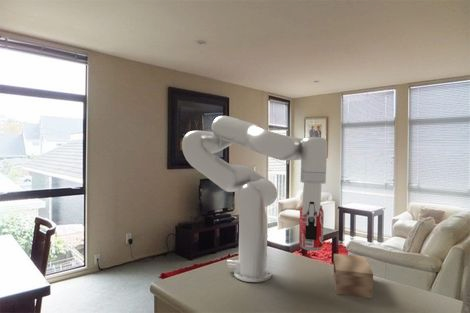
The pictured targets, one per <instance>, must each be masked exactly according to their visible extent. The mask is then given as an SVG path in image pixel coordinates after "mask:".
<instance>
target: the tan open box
mask: <svg viewBox="0 0 470 313" xmlns="http://www.w3.org/2000/svg"><path fill="white" fill-rule="evenodd" d="M332 275H333V281H334V286H335V287H334V289H335V290H334V291H335V294H336V295H342V296H351V297H359V298H367V299H374V298H373V296H374V273H373V271H372V269H371V267H370V264H369V262H368V260H367V258H366V256H363V255H351V254H341V253H340V254H339V253H333V274H332Z"/></svg>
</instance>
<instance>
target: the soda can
mask: <svg viewBox="0 0 470 313" xmlns="http://www.w3.org/2000/svg"><path fill="white" fill-rule="evenodd" d="M302 206H303V204H301V208H300V210H299V236H298V245H299V246H300V248H301V249H303V250H306V251H310V252H311V251H312V252H313V251H314V252H317V251H320V250H321V249H322V248H323V247H324V222H325V221H324V216H325V214H324V209H323V205H321V204H320V211H319V216H318V217H317V218H316V226H317V239H316V240H310V239H306V238H305V231H306V225H307V214H306V215H304V216H303V215H302ZM316 214H317V213H316ZM308 215H309V210H308ZM314 215H315V213H314ZM316 216H317V215H316ZM314 219H315V218H314Z"/></svg>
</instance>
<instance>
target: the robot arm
mask: <svg viewBox="0 0 470 313" xmlns="http://www.w3.org/2000/svg"><path fill="white" fill-rule="evenodd" d="M233 144H235V145H238V146H241V147H244V148H246V149H249V150H250V151H253V152H255V153H258V154H260V155H263V156H267V157H268V158H269V157H270V158H272V159H274V160H275V159H276V160H279V161H298V160H299V161H300V183H303V189H302V205H303V206H302V205H301V207H302V215H303V216H304V215H306V214H307V225H306V231H305V238H306V239H310V240H316V239H317V226H316V218H317V217H318V216H319V211H320V205H321V202H322V201H321V200H322V185H323V184H325V185H326V183H327V155H328V141H327V139H326V138H324V137H320V136H317V137H316V136H315V137H314V136H310V137H308V136H307V137H305V138H303V137H302V138H301V137H296V136H295V137H294V136H290V135H284V134H281V133H277V132H274V131H271V130H267V129H264V128H261V127H260V126H259V125H258V124H256V123H252V122H249V121H245V120H242V119H240V118H236V117H232V116H228V115H220V116H217V117H215V119H214V120H213V121H212V123H211V131H207V130H191V131H188V132H186V134H185V135H184V136H183V138H182V141H181V148H182V149H181V150H182V153H183V155H184V157H185V160H186V161H187V162H188V164H189V165H190V166H191V167H192V168H194V169H195V170H197V171H198V172H199V173H200V174H203V176H205V177H206V178H207V179H209V180H210V181H211V182H213V183H214V184H215V185H217V186H218V187H219V188H221V189H222V190H223V191H225V192H228V193H233V192H237V193H236V202H237V208H238V210H237V211H238V221H239V222H238V259H236V260H233V259H232V260H231V259H227V260H226V266H227V267H228V269H229V268H230V269H233V268H234V271H233V276H234V277H235V279H237V280H240V281H243V282H248V283H262V282H265V281H268V280H270V279H271V278H272V271H271V270H270V269H269V268H267V267H268V216H267V211H266V207H268V206H271V205H272V204H274V203H275V201H277V198H278V190H277V187H276V186H275V184H274V183H273V181H271V180H269V179H268V178H267V177H265V176H264V175H262V174H260V173H259V172H258V171H255V170H254V169H252V168H251V167H250V166H249V167H248V166H247V165H245V164H243V165H242V164H231V163H228V162H227V161H225V160H224V159H222V158H221V157H219V155H216V153H219V152H221V151H223V150H224V149H226V148H228V147H230V146H231V145H233ZM308 210H309V215H308ZM314 213H315V215H314ZM316 213H317V214H316ZM316 215H317V216H316ZM314 218H315V219H314Z"/></svg>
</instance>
